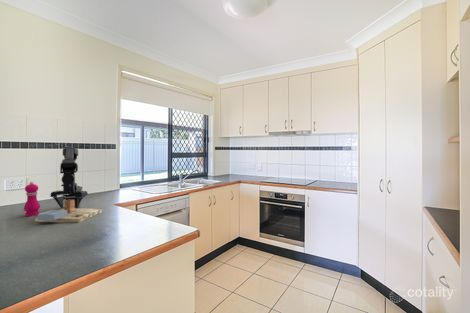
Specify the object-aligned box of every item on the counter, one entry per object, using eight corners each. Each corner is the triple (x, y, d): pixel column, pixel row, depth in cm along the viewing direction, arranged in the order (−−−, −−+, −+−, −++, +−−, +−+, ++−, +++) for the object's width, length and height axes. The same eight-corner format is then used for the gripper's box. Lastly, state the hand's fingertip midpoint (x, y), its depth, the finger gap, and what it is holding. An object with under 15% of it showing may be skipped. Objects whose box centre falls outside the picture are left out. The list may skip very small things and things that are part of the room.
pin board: (64, 211, 143) (64, 208, 143) (101, 212, 142) (101, 208, 142) (35, 221, 123) (35, 218, 123) (78, 222, 122) (78, 218, 122)
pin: (64, 215, 134) (64, 200, 134) (69, 214, 138) (68, 199, 137) (70, 215, 134) (70, 200, 134) (74, 214, 137) (74, 199, 137)
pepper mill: (30, 217, 131) (29, 182, 131) (20, 216, 133) (19, 182, 132) (43, 213, 138) (42, 180, 138) (33, 213, 140) (33, 180, 139)
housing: (51, 215, 128) (51, 209, 128) (67, 215, 128) (67, 209, 128) (37, 219, 119) (37, 214, 119) (54, 220, 119) (54, 214, 119)
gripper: (93, 180, 143) (93, 205, 143) (64, 180, 143) (64, 204, 144) (80, 183, 132) (81, 209, 132) (49, 182, 132) (49, 209, 133)
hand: (69, 208), depth 136 cm, fingers open, 9 cm apart
